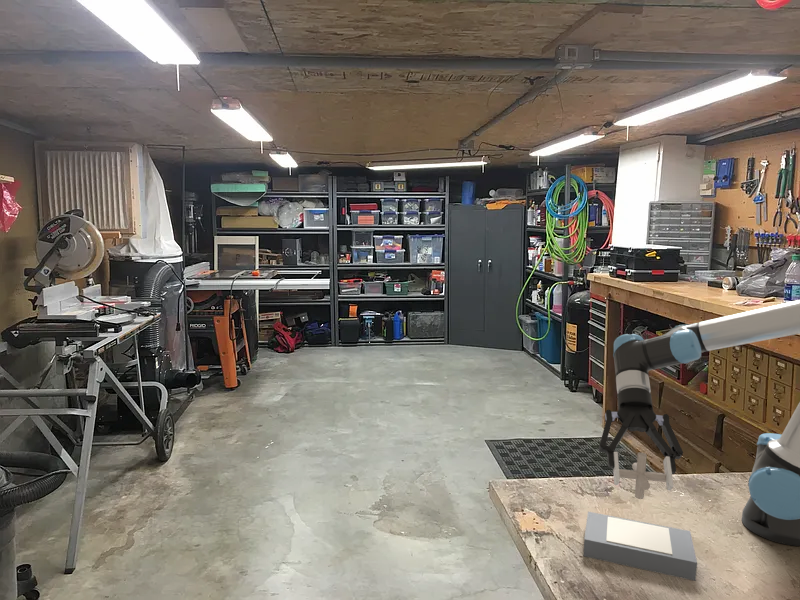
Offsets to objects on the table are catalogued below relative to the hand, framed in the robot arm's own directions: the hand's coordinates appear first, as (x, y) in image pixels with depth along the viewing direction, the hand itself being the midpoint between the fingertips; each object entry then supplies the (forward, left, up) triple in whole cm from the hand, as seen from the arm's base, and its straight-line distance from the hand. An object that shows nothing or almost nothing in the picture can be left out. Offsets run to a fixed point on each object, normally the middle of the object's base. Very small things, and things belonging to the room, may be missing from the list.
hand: (643, 485), depth 119 cm
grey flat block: (0, -3, -17) cm, 17 cm away
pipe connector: (+1, -3, -4) cm, 5 cm away
